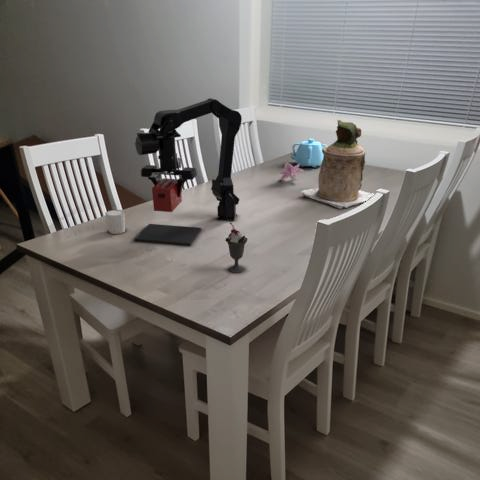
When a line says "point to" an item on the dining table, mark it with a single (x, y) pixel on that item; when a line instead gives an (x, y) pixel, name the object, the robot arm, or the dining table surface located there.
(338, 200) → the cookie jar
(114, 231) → the shot glass
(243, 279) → the dining table surface
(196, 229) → the placemat
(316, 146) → the decorative pot
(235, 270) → the sundae
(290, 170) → the lily
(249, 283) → the dining table surface
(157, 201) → the toaster
